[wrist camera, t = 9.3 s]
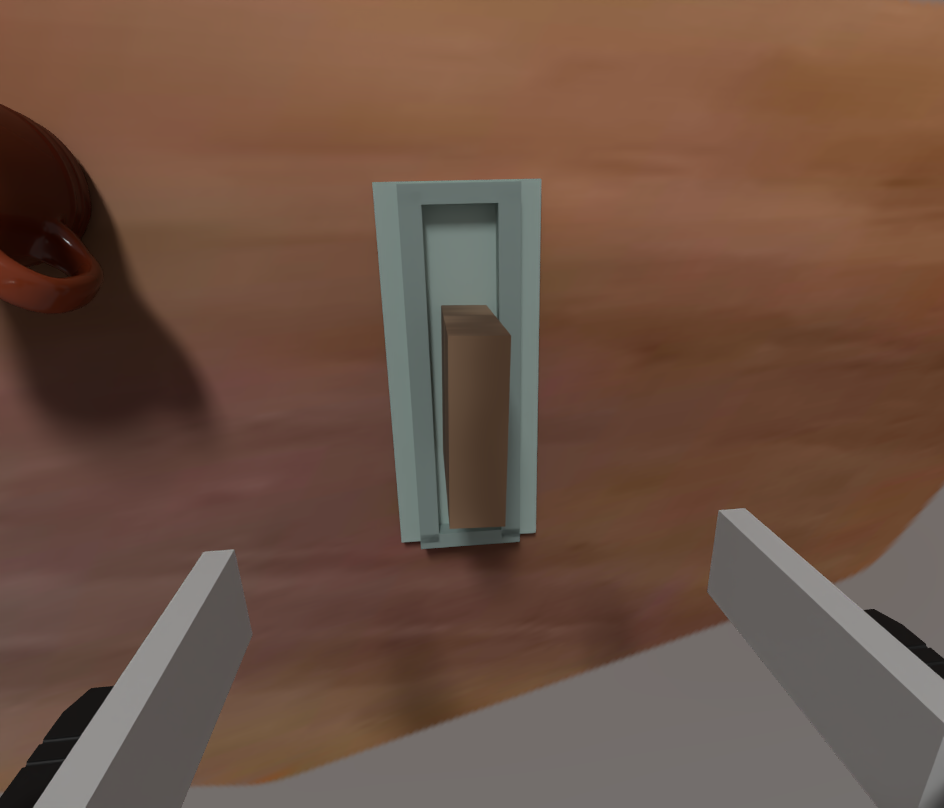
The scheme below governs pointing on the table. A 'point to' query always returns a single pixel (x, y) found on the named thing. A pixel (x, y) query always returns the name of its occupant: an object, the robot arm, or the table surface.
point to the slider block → (475, 415)
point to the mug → (43, 220)
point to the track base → (419, 334)
